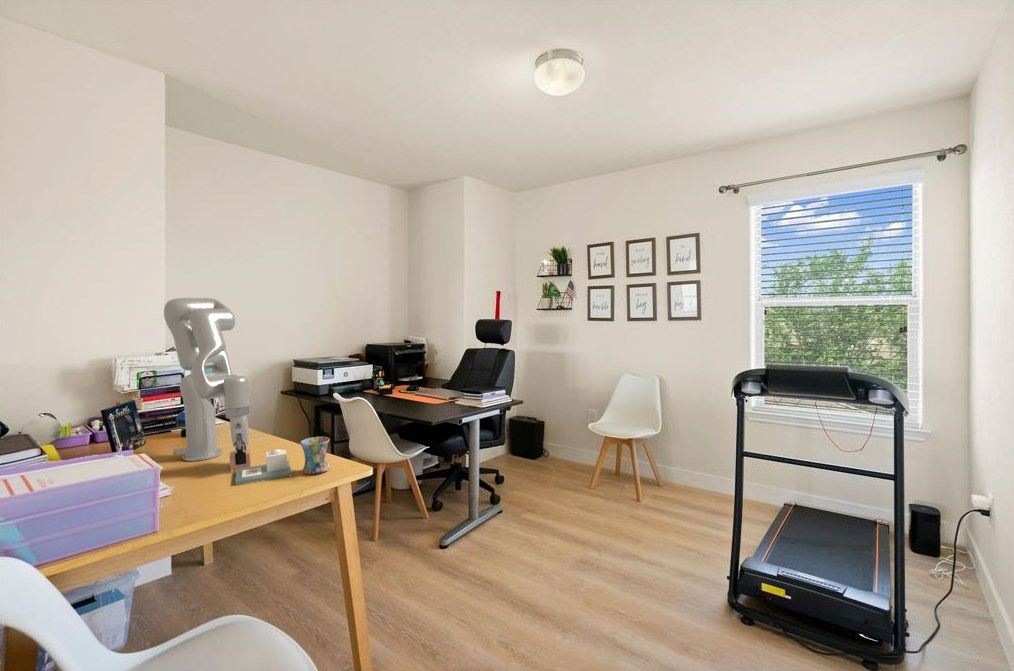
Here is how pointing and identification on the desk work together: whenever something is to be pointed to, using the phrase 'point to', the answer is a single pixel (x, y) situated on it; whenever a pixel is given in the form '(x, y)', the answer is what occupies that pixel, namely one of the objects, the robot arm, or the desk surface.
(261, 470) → the baseplate
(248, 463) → the terracotta brick
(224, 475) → the desk surface
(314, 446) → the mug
